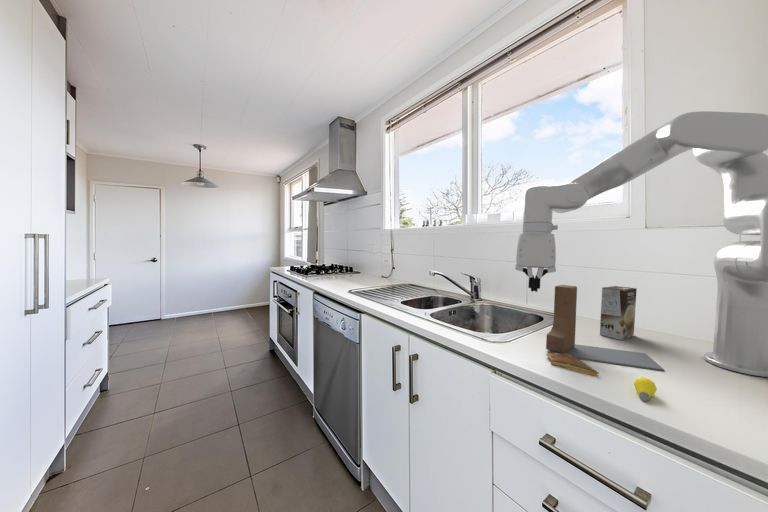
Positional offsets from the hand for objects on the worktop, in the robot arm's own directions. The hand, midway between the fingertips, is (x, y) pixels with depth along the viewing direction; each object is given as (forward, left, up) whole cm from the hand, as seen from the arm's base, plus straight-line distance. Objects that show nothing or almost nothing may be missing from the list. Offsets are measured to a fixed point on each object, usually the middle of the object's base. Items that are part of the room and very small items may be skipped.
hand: (533, 290), depth 85 cm
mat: (-16, 0, -17) cm, 23 cm away
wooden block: (-7, 0, -17) cm, 18 cm away
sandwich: (-9, +10, -18) cm, 22 cm away
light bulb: (-19, +21, -17) cm, 34 cm away
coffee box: (-26, -22, -17) cm, 38 cm away
